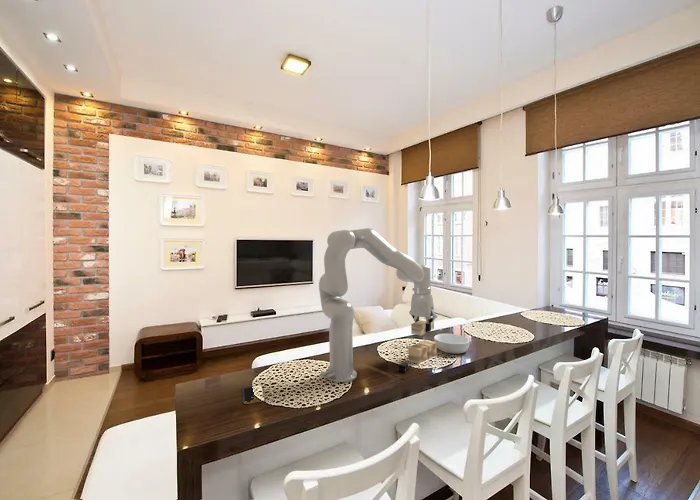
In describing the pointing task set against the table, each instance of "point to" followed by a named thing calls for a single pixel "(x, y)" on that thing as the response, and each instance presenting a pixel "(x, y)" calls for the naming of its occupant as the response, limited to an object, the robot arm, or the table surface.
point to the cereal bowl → (451, 343)
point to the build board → (424, 361)
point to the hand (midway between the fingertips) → (422, 330)
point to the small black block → (403, 367)
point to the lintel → (420, 327)
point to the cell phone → (247, 393)
